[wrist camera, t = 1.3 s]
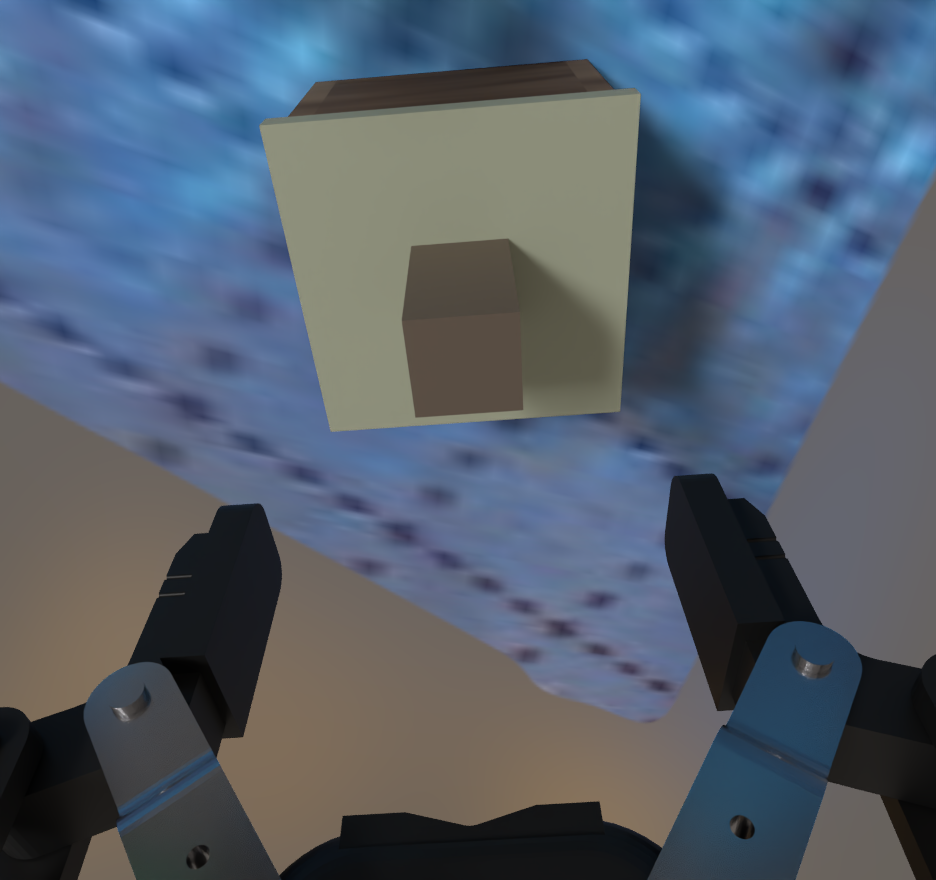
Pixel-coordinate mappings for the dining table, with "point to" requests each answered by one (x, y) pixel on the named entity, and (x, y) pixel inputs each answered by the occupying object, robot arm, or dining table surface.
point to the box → (451, 87)
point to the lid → (462, 255)
